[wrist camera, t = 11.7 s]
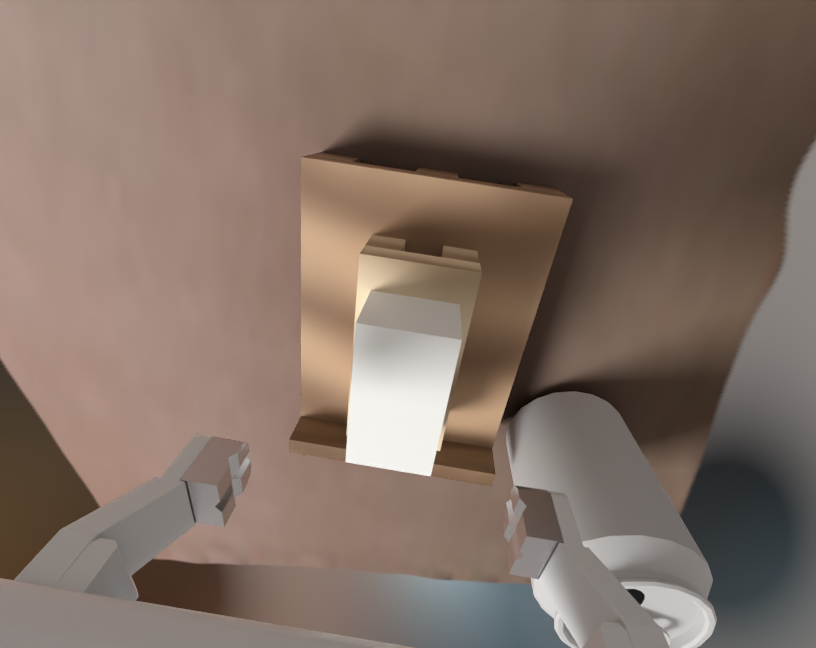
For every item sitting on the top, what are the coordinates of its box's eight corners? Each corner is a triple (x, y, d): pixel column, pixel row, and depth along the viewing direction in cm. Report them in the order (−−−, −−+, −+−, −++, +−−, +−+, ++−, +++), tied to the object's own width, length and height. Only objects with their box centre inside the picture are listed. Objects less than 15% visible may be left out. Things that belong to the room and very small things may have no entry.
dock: (320, 152, 20) (283, 161, 15) (556, 188, 19) (588, 207, 15) (315, 398, 27) (289, 452, 23) (484, 426, 27) (491, 486, 22)
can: (560, 362, 24) (649, 552, 13) (643, 422, 25) (782, 635, 15) (481, 432, 27) (502, 630, 17) (559, 481, 29) (624, 691, 18)
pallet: (372, 234, 18) (359, 253, 16) (477, 250, 18) (482, 272, 15) (357, 399, 23) (346, 435, 20) (441, 412, 23) (440, 451, 20)
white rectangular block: (370, 290, 16) (355, 322, 14) (459, 304, 16) (461, 340, 14) (359, 416, 20) (345, 461, 17) (433, 428, 19) (430, 476, 17)
